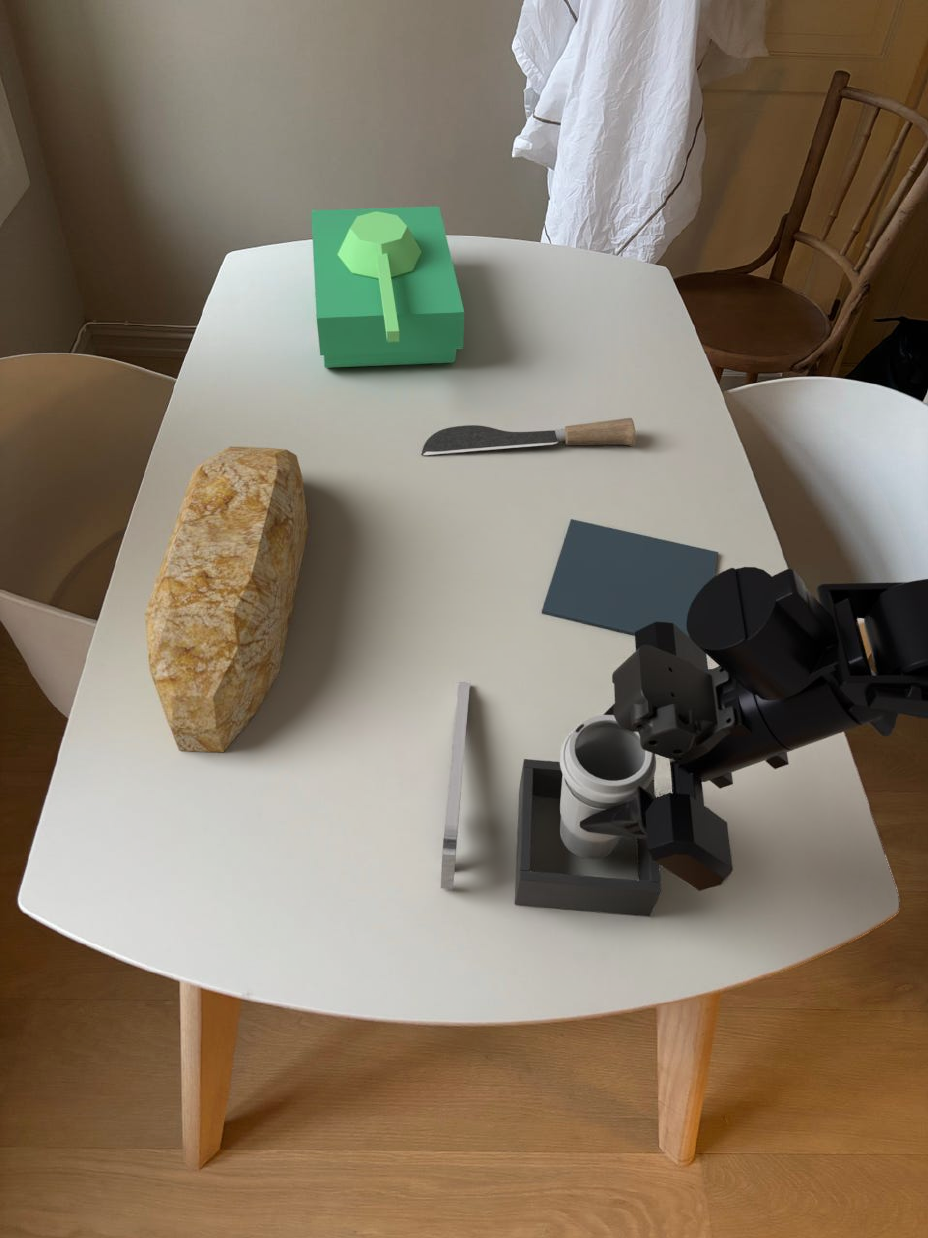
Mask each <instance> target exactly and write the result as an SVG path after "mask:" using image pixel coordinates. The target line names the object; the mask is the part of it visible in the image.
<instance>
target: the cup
mask: <svg viewBox="0 0 928 1238" xmlns="http://www.w3.org/2000/svg"><path fill="white" fill-rule="evenodd" d="M656 756H657V755H656V754H654V753H651V752H648V751H646V750H643V749H642V748H641V745H640V736H639V733H638V732H631V731H628V730H626V729H624V728H622V727H621V726H620V725H619V724H618V723H617V721H616V719H615V717H614V715H603V714H600V715H595V716H592V717H589V718H587V719H585V720H583V721H582V722H581V723H579V724H578V725H577V726H576V727H575V728H574V729H572V731H570V732H569V734H568V735H567V736H566V738H565V739H564V741H563V742H562V745H561V747H560V752H559V762H560V767H561V771H562V774H563V777H562V789H561V799H560V801H559V802H560V803H559V811H560V812H559V813H560V824H559V834H560V839H561V841H562V843H563V845H564V847H566V849H567V850H568V851H569V852H571V854H574V855H575V856H577V857H579V858H581V859H587V860H599V859H602V858H604V857H607V856H608V855H610V854H611V853H612V852H613V851H614V849H615V848H616V846H617V844H618V842H619V840H620V837H621V836H615V835H607V834H598V833H590V832H587V831H585V830H583V829H582V828H580V821H582V820H584V819H585V818H587V817H589V816H591V815H593V814H595V813H598V812H601V811H604V810H606V809H609V808H612V807H615V806H617V805H620V804H623V803H626V802H628V801H631V800H632V799H633V797H634V795H635V792H636V789H637V787H638V786H641V787H642V788H643V789H646V788H647V787H648V786H649V784H650V783H651V781H652V779H653V777H654V778H655V774H656V769H657V757H656Z"/></svg>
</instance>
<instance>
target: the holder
mask: <svg viewBox="0 0 928 1238" xmlns="http://www.w3.org/2000/svg"><path fill="white" fill-rule="evenodd" d="M562 777H563V774H562V771H561V767H560V761H555V760H554V761H553V760H542V759H528V758H524V759H523V761H522V768H521V776H520V781H519V788H518V810H517V811H518V813H517V832H516V833H517V834H516V836H517V837H516V856H515V857H516V859H515V860H516V861H515V884H514V905H515V906H524V907H534V908H547V909H556V910H557V909H558V910H570V911H579V912H580V911H581V912H591V913H604V914H613V915H614V914H615V915H625V916H637V917H651V916H652V914H653V912H654V909H655V908H656V906H657V905H656V904H657V903H658V901H659V898H660V895H661V893H662V883H661V882H662V879H661V866H660V865H659V864H657V863H656V862H654V861H653V859H652V857H651V855H650V853H649V851H648V845H647V840H645V839H639V838H635V839H636V840H635V841H636V854H637V855H636V859H637V860H636V861H637V877H638V878H637V879H625V878H624V879H623V878H615V877H614V878H613V877H603V876H602V877H601V876H592V875H591V876H590V875H580V874H579V875H577V874H566V873H556V872H544V871H531V861H532V860H531V859H532V857H531V855H532V830H533V829H532V827H533V825H532V824H533V823H532V822H533V797H534V798H535V797H537V798H549V799H559V800H561V789H562ZM655 789H656V788H655V776H654V777H653V779H652V781H651V783H650V784H649V786H648V787H647V788H646V789H645V790H646V791H648V792H649V793H650V794H652V795H653V796H655V797H656V791H655Z"/></svg>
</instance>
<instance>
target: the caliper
mask: <svg viewBox="0 0 928 1238" xmlns="http://www.w3.org/2000/svg"><path fill="white" fill-rule="evenodd" d="M470 685H471V683H470V682H463V681H459V683H458V689H457V701H456V711H455V712H456V713H455V720H454V721H455V722H454V730H453V731H454V732H453V743H452V753H451V762H450V773H449V784H448V789H447V790H448V791H447V801H446V812H445V813H446V814H445V821H444V822H445V823H444V827H443V828H444V830H443V838H442V853H441V869H440V889H444V890H445V889H446V890H454V886H455V885H454V883H455V871H456V860H457V859H456V857H457V845H458V844H457V843H458V831H459V821H460V810H461V809H460V807H461V795H462V785H463V784H462V783H463V771H464V761H465V749H466V748H465V747H466V736H467V726H468V725H467V724H468V714H469V713H468V711H469V702H470V701H469V700H470V690H471V689H470V688H471V687H470Z"/></svg>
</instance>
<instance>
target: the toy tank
mask: <svg viewBox="0 0 928 1238" xmlns="http://www.w3.org/2000/svg"><path fill="white" fill-rule="evenodd" d="M310 215H311V235H312V236H311V237H312V250H313V251H312V253H313V254H312V255H313V272H314V274H313V275H314V292H315V293H314V294H315V312H316V313H315V314H316V325H317V326H316V327H317V337H318V346H319V348H318V349H319V356H323V367H324V369H328V368H329V369H330V368H351V367H352V368H353V367H355V368H356V367H377V366H380V367H381V366H403V365H426V364H427V365H428V364H450V363H451V364H452V363H455V361H456V358H457V350H464V337H465V336H464V335H465V334H464V333H465V309H464V305H463V300H462V296H461V292H460V288H459V284H458V283H459V282H458V280H457V275H456V270H455V267H454V262H453V259H452V255H451V251H450V246H449V243H448V238H447V234H446V230H445V225H444V221H443V218H442V217H443V216H442V213H441V209H440V206H417V207H416V206H411V207H409V206H408V207H377V208H376V207H375V208H371V207H370V208H341V209H339V208H337V209H311V210H310Z"/></svg>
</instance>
